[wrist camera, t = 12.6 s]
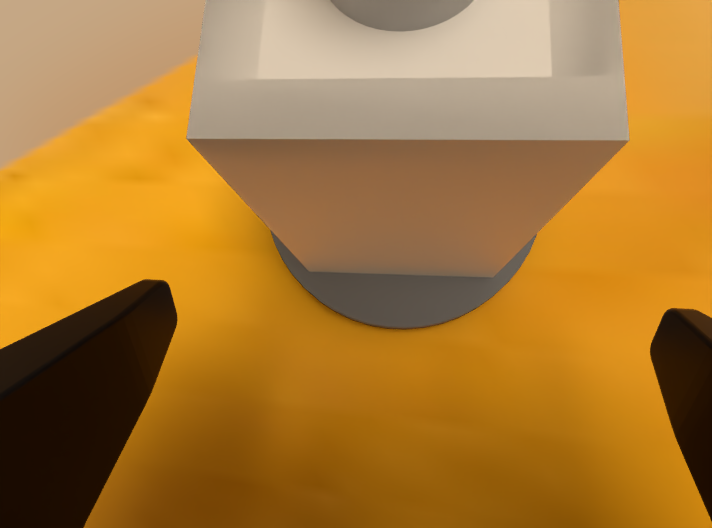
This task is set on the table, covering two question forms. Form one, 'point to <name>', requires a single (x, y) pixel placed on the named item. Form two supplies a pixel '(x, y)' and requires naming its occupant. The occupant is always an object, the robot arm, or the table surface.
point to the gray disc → (400, 293)
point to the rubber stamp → (408, 123)
